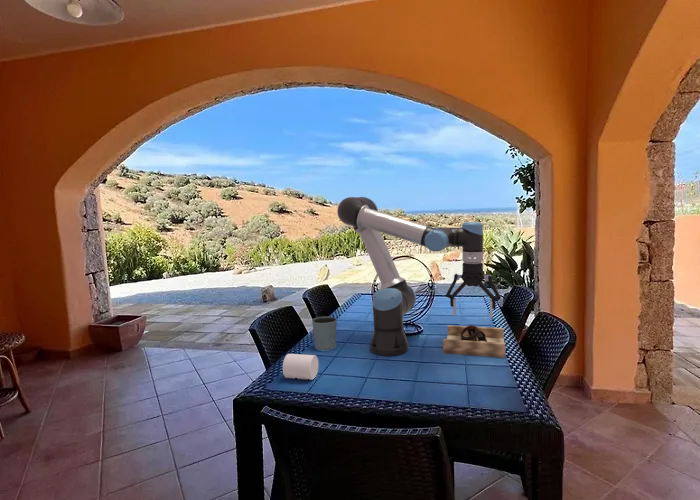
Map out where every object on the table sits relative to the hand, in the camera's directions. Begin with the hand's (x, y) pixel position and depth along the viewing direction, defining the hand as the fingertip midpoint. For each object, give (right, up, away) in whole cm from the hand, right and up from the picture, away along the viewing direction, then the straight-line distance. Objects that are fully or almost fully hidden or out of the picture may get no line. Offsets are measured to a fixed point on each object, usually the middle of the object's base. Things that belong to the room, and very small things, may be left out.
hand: (472, 315), depth 148 cm
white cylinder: (-64, -18, -16) cm, 69 cm away
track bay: (+1, -12, +1) cm, 12 cm away
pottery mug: (+1, -11, +1) cm, 11 cm away
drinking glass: (-58, -15, +9) cm, 60 cm away
